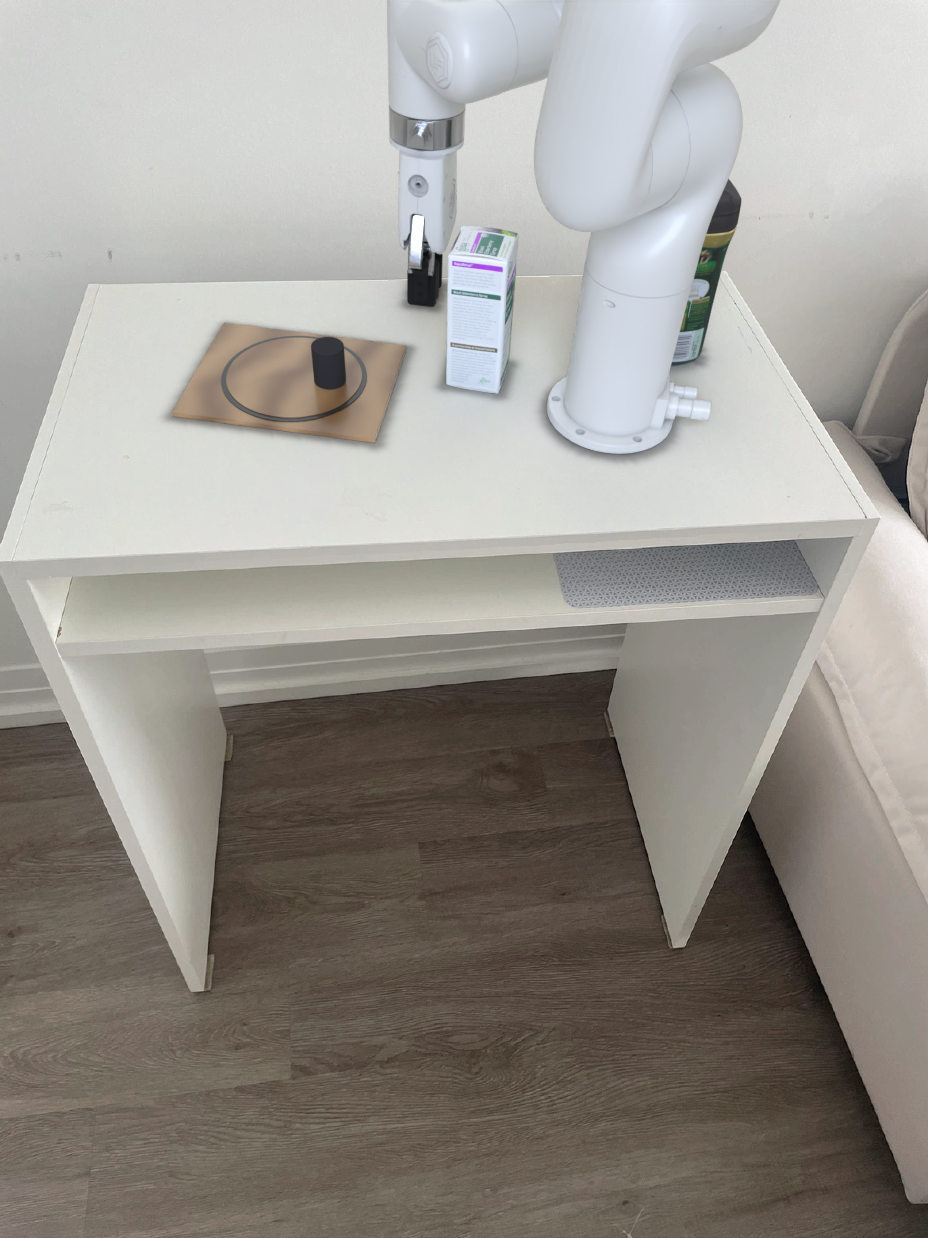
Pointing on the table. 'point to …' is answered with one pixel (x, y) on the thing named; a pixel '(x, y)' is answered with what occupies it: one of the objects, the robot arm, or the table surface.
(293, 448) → the table surface
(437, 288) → the black cylinder
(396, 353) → the sketch board
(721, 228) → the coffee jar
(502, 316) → the syrup box
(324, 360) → the black cylindrical block
